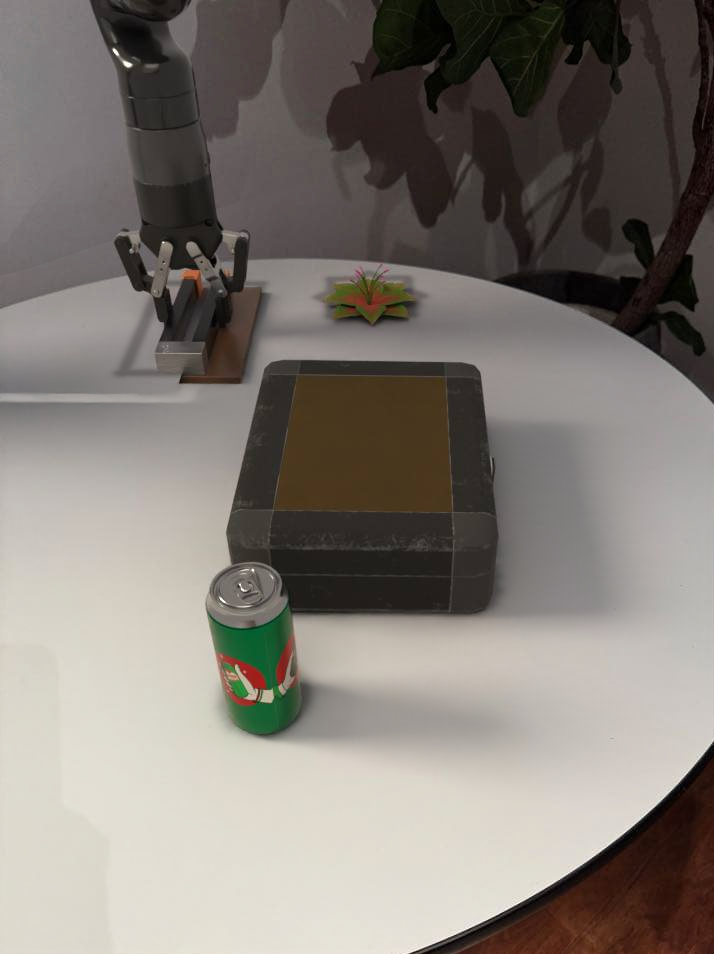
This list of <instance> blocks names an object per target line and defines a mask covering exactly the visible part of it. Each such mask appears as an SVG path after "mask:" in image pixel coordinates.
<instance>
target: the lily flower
mask: <svg viewBox="0 0 714 954" xmlns="http://www.w3.org/2000/svg"><path fill="white" fill-rule="evenodd" d="M382 266H383V263H381V264H379V266H378V268H377V270H376V272H375V273H374V275H373V277H372V279H371V278H366V274H365V272H364V270H363V268H362V266H359V269H360V271H361V272H362V273H361V272H360V271H359V270H358V269H355V270H354V271H355V273H354V274H355V277H357V279H358V280H357V281H356V282H355V280H353V279H351V278H350V279H349V281H350V282H343V283H342V282H341V283H331V285H332V287H333V289H334V292H333V293H331V294H330V295H328V296H327V297H326V299H322V300H321V301H320V303H335V304H336V303H337V304H338V305H337V306H335V308H334V310H333V317H332V318H331V320H336V319H342V318H347V317H357V316H363V317H364V318H365V319H366V320H367V321H368V322H369V323H370V325H371V326H374V324H375V322H377V320H378V318H380V317H381V315H382V316H394V317H399V318H406V319H411V317H410V315H409V313H408V310H407V307H405V306H404V305H403V304H402V302H408V301H409V302H410V301H411V302H412V301H419V299H417V298H416V297H414V296H413V295H410V294H409V293H408V292H406V291H404V289H405V284H406V282H387V280H383V281H381V280H379V279H381V278H384V275H383V274H385V273H387V272H389V271H390V270H389V269H385V270H383V272H381V273H380V274H379V275H378V276H376V275H377V274H378V271H379V269H381V267H382ZM375 277H376V278H375Z"/></svg>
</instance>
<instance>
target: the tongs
mask: <svg viewBox="0 0 714 954" xmlns="http://www.w3.org/2000/svg"><path fill="white" fill-rule="evenodd" d="M223 270H224V271H225V273H226V275H227V277H230V276H231V274H230V270H228V269H227V270H225V269H223ZM180 282H181V283H180V287H179V288H178V291H177V293H176V296H175V299H174V301H173V303H172V309H171V311H170V314H169V316H168V319H167V322H166V324H165V326H164V327H163V329H162V332H161V334H160V337H159V340H158V343H157V345H156V347H155V350H154V353H153V356H154V359H155V364H156V370H157V373H158V374H181V375H205V374H206V370H207V367H208V364H209V360H210V357H211V354H212V350H213V347H214V343H215V340H216V337H217V333H218V330H219V323H218V317H217V310H216V303H215V296H216V293H215V291H214V289H213V288H212V286H211V285H210V286H209V290H208V293H207V296H206V298H205V301H204V304H203V307H202V310H201V313H200V316H199V318H198V323H197V325H196V328H195V331H194V334H193V337H192V340H191V341H184V338H185V336H186V333H187V330H188V327H189V325H190V322H191V319H192V316H193V314H194V311H195V307H196V305H197V303H198V299H200V298H201V295H202V292H203V289H204V287H203V280H202V273H201V271H200V270H191V269H184V271H183V274H182V276H181V279H180ZM181 375H180V376H181Z"/></svg>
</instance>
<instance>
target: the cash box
mask: <svg viewBox="0 0 714 954" xmlns="http://www.w3.org/2000/svg"><path fill="white" fill-rule="evenodd" d="M481 373H482V372H481V370H480V369H478V367H477V366H476V365H475V364H471V363H467V362H462V361H415V360H413V361H410V360H409V361H407V360H403V361H402V360H342V359H341V360H340V359H337V360H336V359H335V360H334V359H332V360H331V359H280V360H275V361H271V362H270V363H268V364H267V365H266V366H265V367H264V369H263V374H262V377H261V381H260V386H259V389H258V393H257V398H256V402H255V407H254V410H253V411H254V412H253V415H252V420H251V423H250V428H249V432H248V437H247V441H246V445H245V449H244V453H243V458H242V461H241V466H240V471H239V473H238V479H237V483H236V487H235V491H234V496H233V500H232V505H231V508H230V513H229V518H228V522H227V527H226V530H225V535H226V536H225V537H226V541H227V548H228V554H229V560H230V566H231V565H233V564H237V563H242V562H258V563H263V564H266V565H268V566H270V567H272V568H273V569H274V570H276V571H277V573H278V574H279V575H280V577H281V579H282V580H283V581H284V582H285V584H286V585H287V587H288V589H289V593H290V600H291V609H292V612H297V611H298V612H350V613H351V612H359V613H361V612H363V613H364V612H365V613H431V614H432V613H433V614H434V613H436V614H452V613H453V614H473V613H476V612H479V611H482V610H485V609H486V608H487V606H488V604H489V602H490V600H491V598H492V596H493V590H494V589H493V587H494V581H495V580H494V579H495V571H496V563H497V562H496V561H497V555H498V554H497V553H498V545H499V544H498V543H499V528H498V519H497V518H498V517H497V508H496V501H495V500H496V499H495V492H494V491H495V490H494V483H495V473H496V461H495V456H494V457H492V455H491V453H490V445H489V436H488V435H489V434H488V426H487V416H486V407H485V399H484V398H485V397H484V389H483V380H482V374H481Z"/></svg>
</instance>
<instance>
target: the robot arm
mask: <svg viewBox="0 0 714 954" xmlns="http://www.w3.org/2000/svg"><path fill="white" fill-rule="evenodd" d="M88 1H89V4H90V9H91V10H92V13H93V16H94V19H95V22H96V24H97V27H98V30H99V32H100V36H101V38H102V42H103V44H104V46H105V48H106V51H107V53H108V55H109V57H110V60H111V63H112V65H113V68H114V73H115V79H116V85H117V92H118V97H119V102H120V107H121V111H122V116H123V120H124V128H125V129H124V130H125V143H126V144H125V145H126V150H127V155H128V161H129V165H130V170H131V177H132V181H133V187H134V191H135V197H136V201H137V202H136V203H137V206H138V211H139V217H140V220H141V225H140V228H139V229H136V230H129V228H125V227H123V228H121V229H120V230H119V232H118V234H117V236H116V237H115V239H114V240H113V245H114V247H115V249H116V251H117V254H118V256H119V259H120V261H121V263H122V265H123V268H124V271H125V273H126V276H127V277H128V279H129V282H130V284H131V286H132V288H133V290H134V291H135V292H138V293H140V292H146V293H147V294H150V295H151V296H152V298H153V303H154V309H155V313H156V319H157V320H158V321H159V323H163V325H164V327H165V324H166V322H167V319H168V316H169V314H170V311H171V309H172V306H173V303H172V302H173V301H172V296H171V291H170V287H169V288H167V284H168V280H169V275H170V273H171V272H170V271H179V270H183V269H184V270H185V269H186V270H200V273H201V275H202V276H203V278H204V279H205V281H207V282H208V283H209V284H210V286H212V288H213V289H214V291H215V293H216V296H215V303H216V310H217V317H218V323H219V328H226V327H227V323H230V321H231V318H232V314H233V309H232V301H231V293H233V292H238V293H239V292H242V291H243V288H244V287H245V283H246V280H247V276H248V275H247V274H248V264H249V251H250V243H251V242H250V241H251V233H250V232H249V230H247V229H244V228H243V229H240V230H239V231H238V232H237V231H233V230H228V229H224V226H223V225H222V224H221V222H220V221H219V218H218V213H217V208H216V201H215V199H216V198H215V193H214V186H213V185H214V184H213V179H212V169H211V155H210V152H209V149H208V144H207V137H206V134H205V130H204V126H203V123H202V118H201V111H200V104H199V98H198V90H197V89H198V88H197V83H196V82H197V81H196V78H195V72H194V67H193V64H192V61H191V58H190V57H189V55H188V53H187V52H186V51H185V50H184V49H183V48H182V47H181V46H180V45H179V44H178V42H176V41H177V40H175V38H174V36H173V34H172V30H171V27H170V23H169V22H171V21H173V20H176V19H178V18H179V17H181V16H182V15H183V14H184V13H185V12H186V11H187V9H188V8H189V6H190V4H191V2H192V0H88ZM141 242H142V243H143V245H144V246H146V248H147V249H148V250H149V251H150V253H152V254H153V256H155V257H156V259H157V261H156V264H155V265H156V266H155V268H154V269H155V270H154V274H153V276H152V275H150V274H149V273H148V271H147V269H146V266H145V263H144V261H143V258H142V256H141V254H140V250H141V247H142V244H141ZM222 243H224V244H226V246H227V251H228V253H229V254H231V255H233V269H232V275H230V277H227V275H226V273H225V271H224V270H225V269H224V268H223V264H222V262H221V259H220V258H219V256H218V254H217V253H216V252H217V250H218V249H219V247H220V245H221V244H222Z"/></svg>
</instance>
